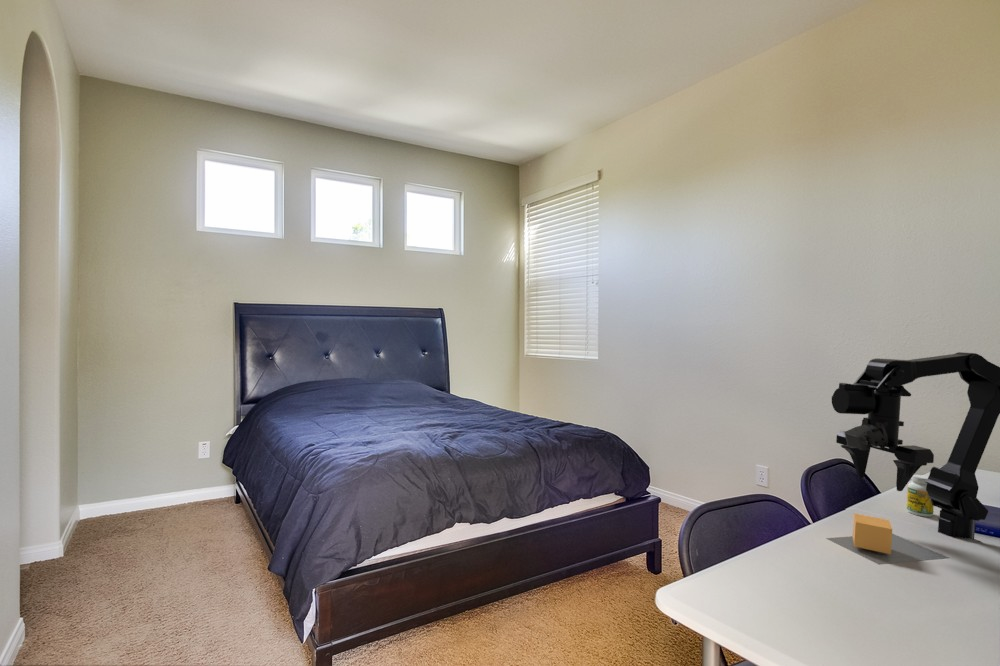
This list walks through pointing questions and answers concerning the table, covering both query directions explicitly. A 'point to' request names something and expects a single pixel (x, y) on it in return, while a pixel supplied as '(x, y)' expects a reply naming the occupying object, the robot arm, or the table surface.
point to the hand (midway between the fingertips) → (879, 484)
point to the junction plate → (899, 551)
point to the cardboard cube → (872, 533)
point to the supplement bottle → (919, 497)
